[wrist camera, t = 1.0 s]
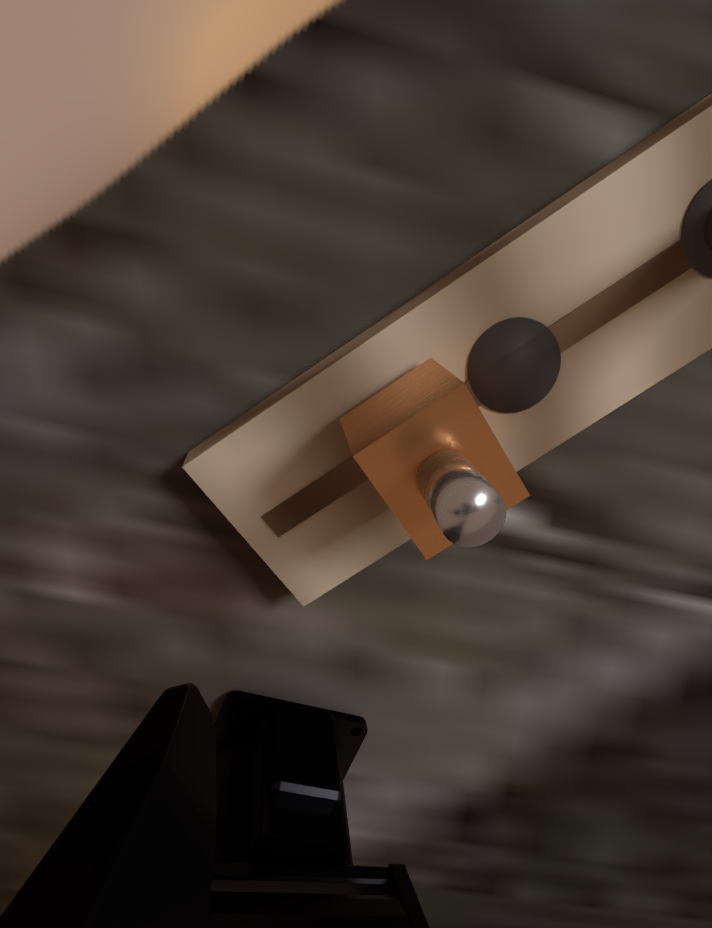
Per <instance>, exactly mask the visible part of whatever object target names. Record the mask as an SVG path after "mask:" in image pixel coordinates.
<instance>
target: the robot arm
mask: <svg viewBox="0 0 712 928" xmlns="http://www.w3.org/2000/svg"><path fill="white" fill-rule="evenodd" d="M233 703H240V704H238V705H235V704H233ZM355 727H359V728H357V729H353V728H355ZM366 734H367V726H366V721H365V719H364V718H362V717H360V716H355V715H351V714H346V713H341V712H336V711H332V710H327V709H322V708H317V707H313V706H308V705H303V704H299V703H294V702H289V701H284V700H280V699H275V698H270V697H265V696H261V695H256V694H251V693H247V692H242V691H234V692H231V693H229V694H228V695H227V696H226V697H225V700H224V702H223V705H222V707H221V710H220V712H219V715H218V717H217V720H216V722H214V718H213V716H212V714H211V712H210V710H209V708H208V706H207V704H206V703H205V701H204V699H203V697H202V695H201V693H200V692H199V690H198V688H197V687H196V685H194V684H192V683H187V684H183V685H179V686H175V687H170V688H168V689H166V690H165V691H164V692H163V693H162V694H161V696H160V697H159V699H158V700H157V701H156V703H155V704H154V705H153V707H152V708H151V710H150V711H149V712H148V714H147V715H146V717H145V718H144V719H143V721H142V722H141V723H140V725H139V726H138V728H137V729H136V730H135V732H134V733H133V734H132V736H131V737H130V739H129V740H128V741H127V743H126V744H125V745H124V747H123V748H122V750H121V751H120V752H119V754H118V755H117V757H116V758H115V759H114V761H113V762H112V763H111V765H110V766H109V768H108V769H107V770H106V772H105V773H104V774H103V776H102V777H101V779H100V780H99V781H98V783H97V784H96V785H95V787H94V788H93V790H92V791H91V792H90V794H89V795H88V797H87V798H86V799H85V801H84V802H83V803H82V805H81V806H80V808H79V809H78V810H77V812H76V813H75V814H74V816H73V817H72V819H71V820H70V821H69V823H68V824H67V825H66V827H65V828H64V830H63V831H62V832H61V834H60V835H59V837H58V838H57V839H56V841H55V842H54V843H53V845H52V846H51V848H50V849H49V850H48V852H47V853H46V854H45V856H44V857H43V859H42V860H41V861H40V863H39V864H38V865H37V867H36V868H35V870H34V871H33V872H32V874H31V875H30V876H29V878H28V879H27V881H26V882H25V883H24V885H23V886H22V888H21V889H20V890H19V892H18V893H17V894H16V896H15V897H14V899H13V900H12V901H11V903H10V904H9V905H8V907H7V908H6V910H5V911H4V912H3V914H2V915H1V916H0V928H429V926H428V923H427V921H426V918H425V916H424V913H423V910H422V908H421V905H420V903H419V900H418V898H417V895H416V893H415V890H414V888H413V885H412V883H411V880H410V878H409V875H408V872H407V870H406V867H405V865H404V864H389V866H388V867H385V866H357V865H353V861H352V853H351V844H350V836H349V827H348V819H347V810H346V802H345V794H344V785H343V779H344V777H345V775H346V773H347V771H348V769H349V767H350V765H351V763H352V761H353V760H354V758H355V756H356V754H357V752H358V750H359V748H360V746H361V744H362V742H363V740H364V738H365V736H366Z"/></svg>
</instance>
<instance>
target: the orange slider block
mask: <svg viewBox="0 0 712 928" xmlns="http://www.w3.org/2000/svg"><path fill="white" fill-rule="evenodd" d="M340 421H341V424H342V427H343V430H344V433H345V435H346V438H347V441H348V444H349V447H350V450H351V453H352V456H353V458H354V459H355V460H356V462H357V463H358V465H359V466H360V467H361V469H362V470H363V471H364V473H365V474H366V476H367V477H368V478H369V480H370V481H371V483H372V484H373V485H374V487H375V488H376V490H377V491H378V492H379V494H380V495H381V497H382V498H383V499H384V501H385V502H386V504H387V505H388V506H389V508H390V509H391V511H392V512H393V513H394V515H395V516H396V518H397V519H398V520H399V522H400V523H401V525H402V526H403V527H404V529H405V530H406V532H407V533H408V534H409V536H410V537H411V539H412V540H413V541H414V543H415V544H416V546H417V547H418V548H419V550H420V551H421V553H422V554H423V555H424V557H425V558H426V560H428V559H429V558H431V557H433V556H434V555H436V554H437V553H439V552H441V551H442V550H444V549H445V548H447V547H449V546H450V545H452V544H453V543H454V544H456V545H458V546H462V547H475V546H479V545H482V544H484V543H486V542H488V541H490V540H491V539H492V538H494V537H495V536H496V535H497V534H498V533H499V531H500V530H501V528H502V526H503V524H504V522H505V518H506V510H507V509H509V508H511V507H512V506H514V505H515V504H517V503H519V502H520V501H522V500H523V499H525V498H527V497H528V496H530V495H529V493H528V491H527V490H526V488H525V486H524V484H523V483H522V481H521V479H520V478H519V476H518V474H517V472H516V471H515V469H514V467H513V466H512V464H511V462H510V460H509V459H508V457H507V455H506V454H505V452H504V450H503V448H502V447H501V445H500V443H499V442H498V440H497V438H496V436H495V435H494V433H493V431H492V429H491V428H490V426H489V424H488V423H487V421H486V419H485V417H484V416H483V414H482V412H481V411H480V409H479V407H478V405H477V404H476V402H475V400H474V399H473V397H472V395H471V393H470V392H469V390H468V388H467V387H466V385H465V383H464V382H463V381H461V380H460V379H459V378H457V377H456V376H455V375H453V374H452V373H451V372H449V371H448V370H447V369H445V368H444V367H443V366H441V365H440V364H439V363H437V362H436V361H435V360H434V359H432V358H429V359H428V360H426V361H425V362H423V363H422V364H420V365H419V366H417V367H416V368H414V369H413V370H411V371H410V372H408V373H407V374H405V375H404V376H402V377H401V378H400V379H398V380H397V381H395V382H394V383H392V384H391V385H389V386H388V387H386V388H385V389H383V390H382V391H380V392H379V393H377V394H376V395H374V396H373V397H371V398H370V399H368V400H367V401H365V402H364V403H362V404H361V405H359V406H358V407H356V408H355V409H353V410H352V411H350V412H349V413H347V414H346V415H344V416H343V417H341V418H340Z"/></svg>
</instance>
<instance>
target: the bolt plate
mask: <svg viewBox="0 0 712 928" xmlns="http://www.w3.org/2000/svg"><path fill="white" fill-rule="evenodd" d="M711 348H712V93H711V94H710V95H708V96H707V97H705V98H704V99H703V100H701V101H700V102H698V103H697V104H695V105H694V106H692V107H691V108H689V109H688V110H686V111H685V112H684V113H682V114H681V115H679V116H678V117H676V118H675V119H673V120H672V121H670V122H669V123H667V124H666V125H665V126H663V127H662V128H660V129H659V130H657V131H656V132H654V133H653V134H651V135H650V136H649V137H647V138H646V139H644V140H643V141H641V142H640V143H638V144H637V145H635V146H634V147H632V148H631V149H630V150H628V151H627V152H625V153H624V154H622V155H621V156H619V157H618V158H616V159H615V160H613V161H612V162H611V163H609V164H608V165H606V166H605V167H603V168H602V169H600V170H599V171H597V172H596V173H595V174H593V175H592V176H590V177H589V178H587V179H586V180H584V181H583V182H581V183H580V184H578V185H577V186H576V187H574V188H573V189H571V190H570V191H568V192H567V193H565V194H564V195H562V196H561V197H560V198H558V199H557V200H555V201H554V202H552V203H551V204H549V205H548V206H546V207H545V208H543V209H542V210H541V211H539V212H538V213H536V214H535V215H533V216H532V217H530V218H529V219H527V220H526V221H524V222H523V223H522V224H520V225H519V226H517V227H516V228H514V229H513V230H511V231H510V232H508V233H507V234H506V235H504V236H503V237H501V238H500V239H498V240H497V241H495V242H494V243H492V244H491V245H489V246H488V247H487V248H485V249H484V250H482V251H481V252H479V253H478V254H476V255H475V256H473V257H472V258H470V259H469V260H468V261H466V262H465V263H463V264H462V265H460V266H459V267H457V268H456V269H454V270H453V271H452V272H450V273H449V274H447V275H446V276H444V277H443V278H441V279H440V280H438V281H437V282H435V283H434V284H433V285H431V286H430V287H428V288H427V289H425V290H424V291H422V292H421V293H419V294H418V295H417V296H415V297H414V298H412V299H411V300H409V301H408V302H406V303H405V304H403V305H402V306H400V307H399V308H398V309H396V310H395V311H393V312H392V313H390V314H389V315H387V316H386V317H384V318H383V319H381V320H380V321H379V322H377V323H376V324H374V325H373V326H371V327H370V328H368V329H367V330H365V331H364V332H363V333H361V334H360V335H358V336H357V337H355V338H354V339H352V340H351V341H349V342H348V343H346V344H345V345H344V346H342V347H341V348H339V349H338V350H336V351H335V352H333V353H332V354H330V355H329V356H327V357H326V358H325V359H323V360H322V361H320V362H319V363H317V364H316V365H314V366H313V367H311V368H310V369H309V370H307V371H306V372H304V373H303V374H301V375H300V376H298V377H297V378H295V379H294V380H292V381H291V382H290V383H288V384H287V385H285V386H284V387H282V388H281V389H279V390H278V391H276V392H275V393H274V394H272V395H271V396H269V397H268V398H266V399H265V400H263V401H262V402H260V403H259V404H257V405H256V406H255V407H253V408H252V409H250V410H249V411H247V412H246V413H244V414H243V415H241V416H240V417H238V418H237V419H236V420H234V421H233V422H231V423H230V424H228V425H227V426H225V427H224V428H222V429H221V430H220V431H218V432H217V433H215V434H214V435H212V436H211V437H209V438H208V439H206V440H205V441H203V442H202V443H201V444H199V445H198V446H196V447H195V448H193V449H192V450H190V451H189V452H188V454H187V457H186V459H185V461H184V464H183V466H182V468H183V469H184V470H185V471H186V472H187V473H188V474H189V476H190V477H191V478H192V479H193V480H194V481H195V483H196V484H197V485H198V486H199V487H200V488H201V489H202V491H203V492H204V493H205V494H206V495H207V496H208V497H209V499H210V500H211V501H212V502H213V503H214V504H215V505H216V507H217V508H218V509H219V510H220V511H221V512H222V513H223V515H224V516H225V517H226V518H227V519H228V520H229V522H230V523H231V524H232V525H233V526H234V527H235V528H236V530H237V531H238V532H239V533H240V534H241V535H242V536H243V538H244V539H245V540H246V541H247V542H248V543H249V544H250V546H251V547H252V548H253V549H254V550H255V551H256V552H257V554H258V555H259V556H260V557H261V558H262V559H263V561H264V562H265V563H266V564H267V565H268V566H269V567H270V569H271V570H272V571H273V572H274V573H275V574H276V575H277V577H278V578H279V579H280V580H281V581H282V582H283V583H284V585H285V586H286V587H287V588H288V589H289V590H290V591H291V593H292V594H293V595H294V596H295V597H296V598H297V600H298V601H299V602H300V603H301V604H302V605H303V606H306V605H307V604H309V603H310V602H312V601H314V600H315V599H317V598H318V597H320V596H321V595H323V594H325V593H326V592H328V591H329V590H331V589H332V588H334V587H336V586H337V585H339V584H340V583H342V582H344V581H345V580H347V579H348V578H350V577H351V576H353V575H355V574H356V573H358V572H359V571H361V570H362V569H364V568H366V567H367V566H369V565H370V564H372V563H373V562H375V561H377V560H378V559H380V558H381V557H383V556H385V555H386V554H388V553H389V552H391V551H392V550H394V549H396V548H397V547H399V546H400V545H402V544H403V543H405V542H407V541H408V540H410V539H411V537H410V536H409V534H408V533H407V532H406V530H405V529H404V527H403V526H402V525H401V523H400V522H399V520H398V519H397V518H396V516H395V515H394V513H393V512H392V511H391V509H390V508H389V506H388V505H387V504H386V502H385V501H384V499H383V498H382V497H381V495H380V494H379V492H378V491H377V490H376V488H375V487H374V485H373V484H372V483H371V481H370V480H369V478H368V477H367V476H366V474H365V473H364V471H363V470H362V469H361V467H360V466H359V465H358V463H357V462H356V460H355V459H354V458H353V456H352V453H351V450H350V447H349V444H348V441H347V438H346V435H345V433H344V430H343V427H342V424H341V421H340V418H341V417H343V416H344V415H346V414H347V413H349V412H350V411H352V410H353V409H355V408H356V407H358V406H359V405H361V404H362V403H364V402H365V401H367V400H368V399H370V398H371V397H373V396H374V395H376V394H377V393H379V392H380V391H382V390H383V389H385V388H386V387H388V386H389V385H391V384H392V383H394V382H395V381H397V380H398V379H400V378H401V377H402V376H404V375H405V374H407V373H408V372H410V371H411V370H413V369H414V368H416V367H417V366H419V365H420V364H422V363H423V362H425V361H426V360H428V359H429V358H432V359H434V360H435V361H436V362H437V363H439V364H440V365H441V366H443V367H444V368H445V369H447V370H448V371H449V372H451V373H452V374H453V375H455V376H456V377H457V378H459V379H460V380H461V381H463V382H464V383H465V385H466V387H467V388H468V390H469V392H470V393H471V395H472V397H473V399H474V400H475V402H476V404H477V405H478V407H479V409H480V411H481V412H482V414H483V416H484V417H485V419H486V421H487V423H488V424H489V426H490V428H491V429H492V431H493V433H494V435H495V436H496V438H497V440H498V442H499V443H500V445H501V447H502V448H503V450H504V452H505V454H506V455H507V457H508V459H509V460H510V462H511V464H512V466H513V467H514V469H515V471H516V472H517V471H519V470H520V469H522V468H523V467H525V466H526V465H528V464H530V463H531V462H533V461H534V460H536V459H538V458H539V457H541V456H542V455H544V454H545V453H547V452H549V451H550V450H552V449H553V448H555V447H556V446H558V445H560V444H561V443H563V442H564V441H566V440H567V439H569V438H571V437H572V436H574V435H575V434H577V433H579V432H580V431H582V430H583V429H585V428H586V427H588V426H590V425H591V424H593V423H594V422H596V421H597V420H599V419H601V418H602V417H604V416H605V415H607V414H609V413H610V412H612V411H613V410H615V409H616V408H618V407H620V406H621V405H623V404H624V403H626V402H627V401H629V400H631V399H632V398H634V397H635V396H637V395H638V394H640V393H642V392H643V391H645V390H646V389H648V388H650V387H651V386H653V385H654V384H656V383H657V382H659V381H661V380H662V379H664V378H665V377H667V376H668V375H670V374H672V373H673V372H675V371H676V370H678V369H679V368H681V367H683V366H684V365H686V364H687V363H689V362H691V361H692V360H694V359H695V358H697V357H698V356H700V355H702V354H703V353H705V352H706V351H708V350H709V349H711Z"/></svg>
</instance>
